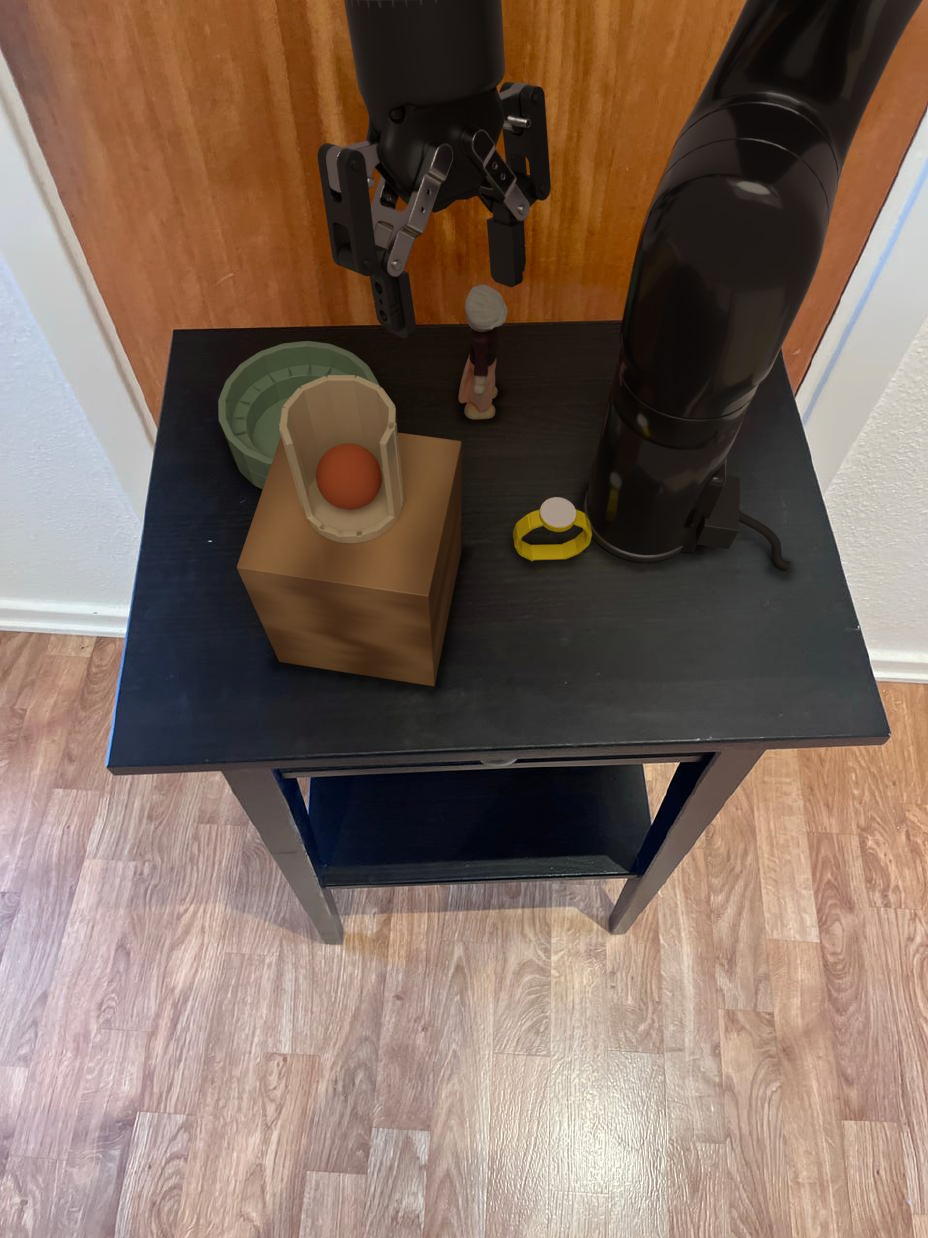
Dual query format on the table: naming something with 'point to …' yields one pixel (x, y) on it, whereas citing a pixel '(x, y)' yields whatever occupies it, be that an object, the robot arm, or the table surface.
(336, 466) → the ball
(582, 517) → the watch
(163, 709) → the table surface
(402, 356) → the table surface
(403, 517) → the stand
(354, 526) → the cup
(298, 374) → the bowl
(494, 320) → the grandmother figurine
